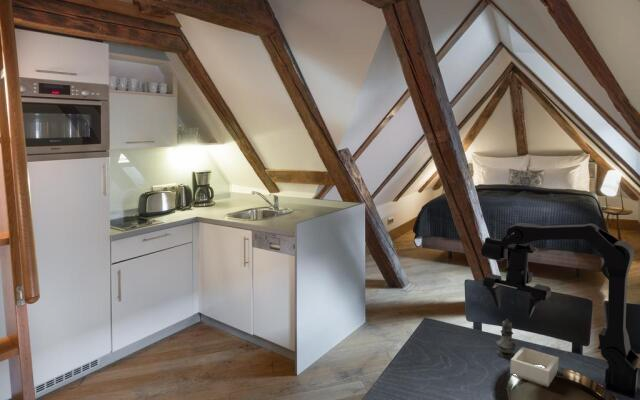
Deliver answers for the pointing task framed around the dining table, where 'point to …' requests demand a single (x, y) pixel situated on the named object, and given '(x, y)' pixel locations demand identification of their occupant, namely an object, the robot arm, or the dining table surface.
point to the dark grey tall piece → (506, 341)
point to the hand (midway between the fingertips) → (513, 312)
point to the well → (526, 367)
